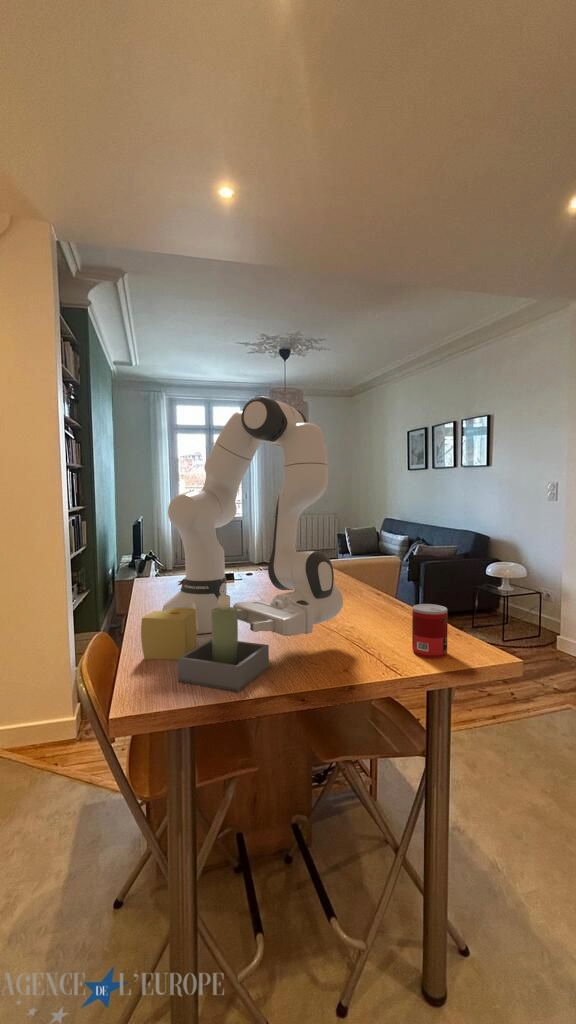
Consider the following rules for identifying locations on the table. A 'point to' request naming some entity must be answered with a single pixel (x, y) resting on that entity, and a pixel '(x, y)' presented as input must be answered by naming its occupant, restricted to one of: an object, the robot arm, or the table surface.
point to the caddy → (223, 667)
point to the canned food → (429, 630)
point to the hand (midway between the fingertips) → (239, 623)
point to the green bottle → (224, 632)
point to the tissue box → (168, 633)
